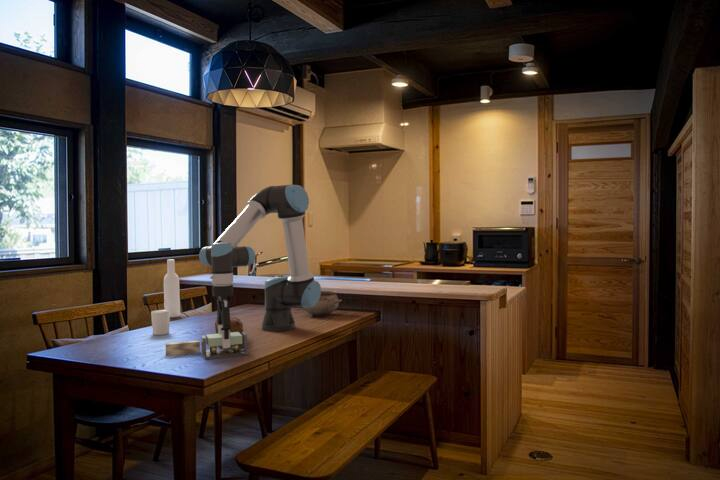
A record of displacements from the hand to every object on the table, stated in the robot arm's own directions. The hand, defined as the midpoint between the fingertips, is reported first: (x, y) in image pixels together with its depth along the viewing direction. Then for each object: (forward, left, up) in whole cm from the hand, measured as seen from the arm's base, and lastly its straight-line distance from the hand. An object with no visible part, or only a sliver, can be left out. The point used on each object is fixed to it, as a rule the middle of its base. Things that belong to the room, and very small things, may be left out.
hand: (224, 344), depth 213 cm
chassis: (0, 0, -3) cm, 3 cm away
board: (0, 0, +1) cm, 1 cm away
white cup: (+20, -54, -4) cm, 58 cm away
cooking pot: (-58, -68, -4) cm, 90 cm away
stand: (+14, -8, -3) cm, 17 cm away
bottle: (+13, -104, -4) cm, 105 cm away
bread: (-5, -22, -4) cm, 23 cm away
